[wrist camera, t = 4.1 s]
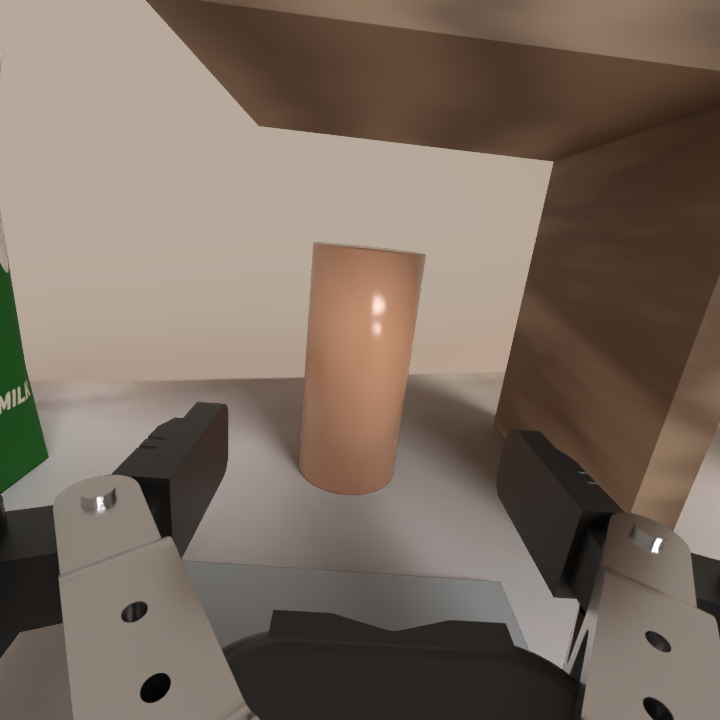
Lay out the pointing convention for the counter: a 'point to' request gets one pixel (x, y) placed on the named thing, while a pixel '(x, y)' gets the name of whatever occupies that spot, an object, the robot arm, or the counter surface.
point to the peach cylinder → (357, 364)
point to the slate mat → (341, 598)
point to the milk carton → (15, 390)
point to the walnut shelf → (564, 194)
